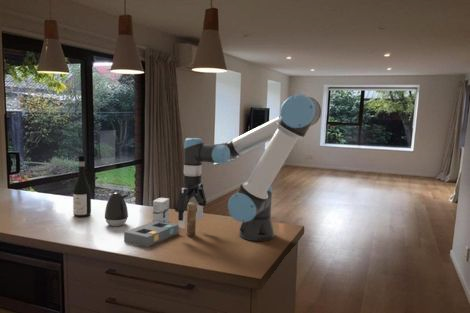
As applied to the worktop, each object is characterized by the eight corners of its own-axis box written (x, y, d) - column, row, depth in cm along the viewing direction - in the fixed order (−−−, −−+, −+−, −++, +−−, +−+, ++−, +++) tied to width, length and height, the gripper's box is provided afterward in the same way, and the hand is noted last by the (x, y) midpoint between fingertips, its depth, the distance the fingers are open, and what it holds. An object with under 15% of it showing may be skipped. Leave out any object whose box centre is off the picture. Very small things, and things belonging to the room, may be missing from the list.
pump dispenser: (124, 228, 165) (124, 195, 164) (101, 227, 165) (101, 194, 164) (131, 222, 176) (131, 190, 174) (109, 221, 175) (108, 189, 174)
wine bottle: (84, 218, 179) (84, 156, 176) (70, 217, 180) (69, 155, 177) (94, 214, 187) (93, 155, 184) (79, 213, 188) (79, 154, 185)
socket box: (178, 233, 161) (178, 223, 160) (147, 247, 143) (148, 236, 143) (156, 228, 166) (156, 219, 166) (124, 241, 149) (124, 231, 148)
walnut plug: (197, 235, 160) (197, 203, 158) (192, 237, 156) (193, 204, 155) (189, 233, 161) (190, 202, 160) (185, 235, 158) (185, 203, 157)
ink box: (162, 227, 169) (162, 202, 168) (152, 226, 170) (152, 201, 169) (169, 222, 177) (169, 198, 176) (159, 221, 178) (160, 197, 177)
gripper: (200, 170, 169) (199, 215, 171) (166, 177, 147) (165, 229, 149) (215, 172, 165) (213, 218, 168) (182, 179, 143) (181, 232, 146)
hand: (191, 223), depth 158 cm, fingers open, 13 cm apart
